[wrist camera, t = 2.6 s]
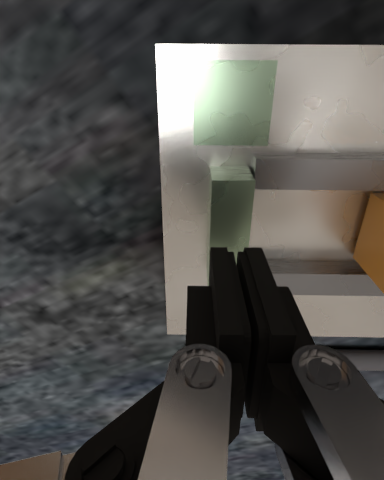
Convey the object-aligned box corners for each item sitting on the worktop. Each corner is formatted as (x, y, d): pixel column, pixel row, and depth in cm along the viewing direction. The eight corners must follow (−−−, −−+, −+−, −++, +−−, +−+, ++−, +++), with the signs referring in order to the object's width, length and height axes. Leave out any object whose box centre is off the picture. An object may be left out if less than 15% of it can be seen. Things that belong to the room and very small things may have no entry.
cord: (507, 347, 20) (525, 363, 19) (498, 361, 20) (515, 377, 19) (185, 342, 20) (185, 358, 19) (185, 356, 20) (185, 372, 19)
